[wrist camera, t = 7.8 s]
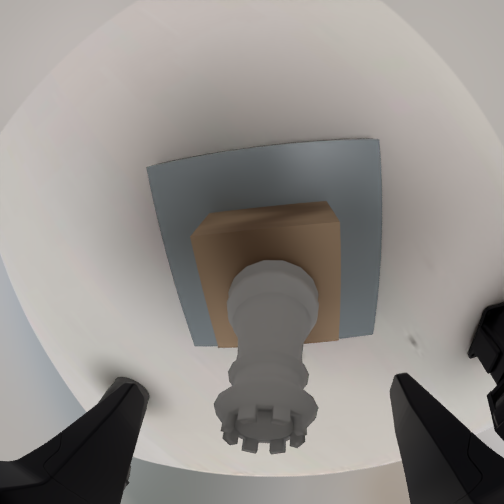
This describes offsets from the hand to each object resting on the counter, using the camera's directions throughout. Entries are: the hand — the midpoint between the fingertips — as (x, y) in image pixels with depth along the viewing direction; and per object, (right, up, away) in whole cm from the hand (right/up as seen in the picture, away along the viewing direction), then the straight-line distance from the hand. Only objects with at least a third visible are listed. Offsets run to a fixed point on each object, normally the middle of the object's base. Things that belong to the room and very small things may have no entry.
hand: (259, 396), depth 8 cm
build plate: (+1, +5, +11) cm, 12 cm away
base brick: (+1, +4, +9) cm, 10 cm away
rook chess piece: (+1, +3, +6) cm, 7 cm away
